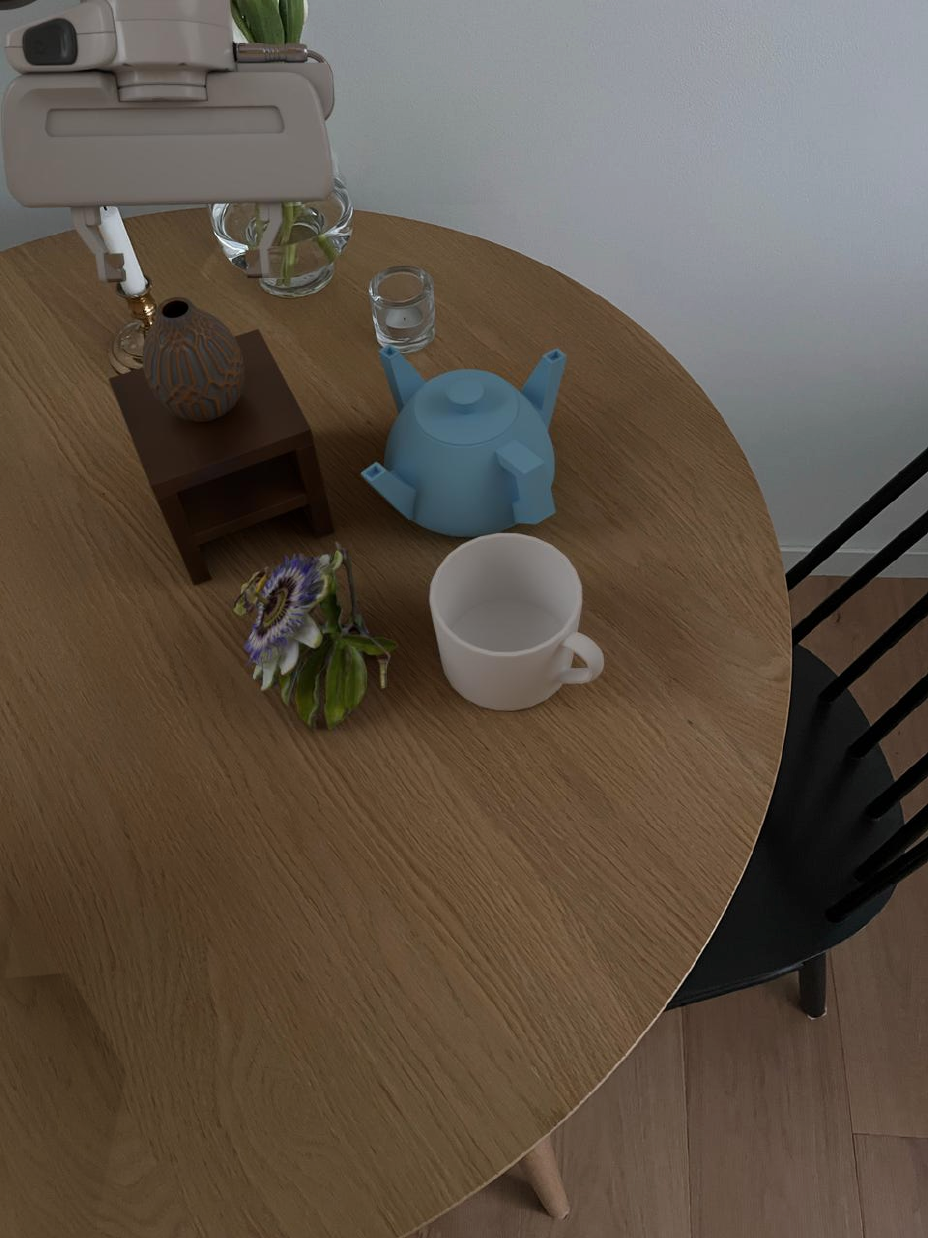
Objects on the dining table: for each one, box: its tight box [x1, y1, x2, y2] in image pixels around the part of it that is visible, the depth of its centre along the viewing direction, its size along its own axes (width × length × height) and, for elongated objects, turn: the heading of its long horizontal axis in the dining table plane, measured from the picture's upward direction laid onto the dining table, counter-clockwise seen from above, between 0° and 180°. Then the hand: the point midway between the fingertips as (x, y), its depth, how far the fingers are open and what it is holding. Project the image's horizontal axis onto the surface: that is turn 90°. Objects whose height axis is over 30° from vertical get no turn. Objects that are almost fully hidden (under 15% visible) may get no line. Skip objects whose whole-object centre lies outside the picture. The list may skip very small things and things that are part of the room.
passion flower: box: [233, 541, 399, 731], centre depth 76 cm, size 11×11×12 cm
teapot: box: [360, 343, 568, 538], centre depth 84 cm, size 15×15×11 cm
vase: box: [141, 296, 245, 422], centre depth 75 cm, size 7×7×9 cm
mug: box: [428, 532, 605, 712], centre depth 75 cm, size 13×10×8 cm
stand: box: [108, 328, 336, 586], centre depth 83 cm, size 12×12×12 cm
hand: (186, 280), depth 70 cm, fingers open, 8 cm apart
